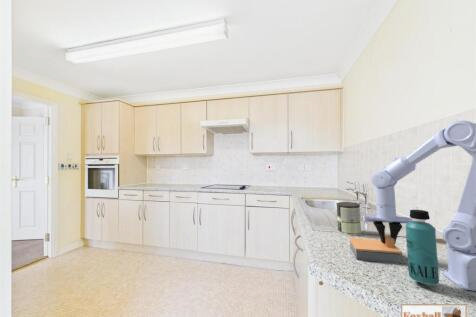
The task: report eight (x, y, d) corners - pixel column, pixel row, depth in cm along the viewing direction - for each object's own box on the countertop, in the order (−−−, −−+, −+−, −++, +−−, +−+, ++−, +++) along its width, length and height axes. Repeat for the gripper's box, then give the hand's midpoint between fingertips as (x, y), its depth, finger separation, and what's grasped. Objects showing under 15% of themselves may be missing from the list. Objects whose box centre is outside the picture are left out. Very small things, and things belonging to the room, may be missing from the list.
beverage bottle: (424, 277, 59) (419, 207, 60) (448, 291, 53) (442, 212, 54) (402, 278, 59) (397, 208, 60) (423, 292, 52) (418, 212, 53)
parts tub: (401, 263, 68) (400, 254, 68) (356, 259, 72) (356, 250, 72) (388, 251, 78) (388, 243, 78) (350, 247, 82) (350, 240, 82)
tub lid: (402, 255, 68) (401, 242, 68) (355, 251, 72) (355, 239, 72) (388, 242, 79) (387, 232, 79) (349, 240, 83) (348, 230, 83)
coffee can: (333, 231, 104) (331, 203, 105) (348, 228, 108) (346, 201, 109) (350, 237, 95) (349, 206, 96) (366, 234, 99) (364, 204, 99)
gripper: (404, 203, 76) (407, 240, 75) (360, 202, 81) (362, 237, 80) (414, 206, 69) (417, 247, 69) (365, 205, 74) (367, 244, 73)
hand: (388, 243), depth 74 cm, fingers closed on tub lid, 2 cm apart
